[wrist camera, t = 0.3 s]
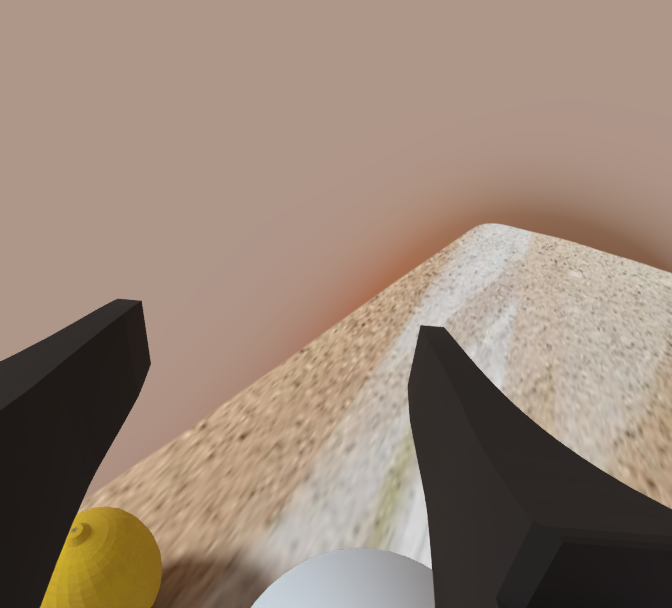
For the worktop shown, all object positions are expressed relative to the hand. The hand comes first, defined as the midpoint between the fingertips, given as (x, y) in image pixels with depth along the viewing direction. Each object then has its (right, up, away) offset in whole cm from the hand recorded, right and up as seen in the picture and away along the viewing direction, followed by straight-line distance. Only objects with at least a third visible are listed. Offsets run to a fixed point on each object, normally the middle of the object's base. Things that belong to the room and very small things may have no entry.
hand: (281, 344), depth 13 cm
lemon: (-10, -16, +14) cm, 24 cm away
